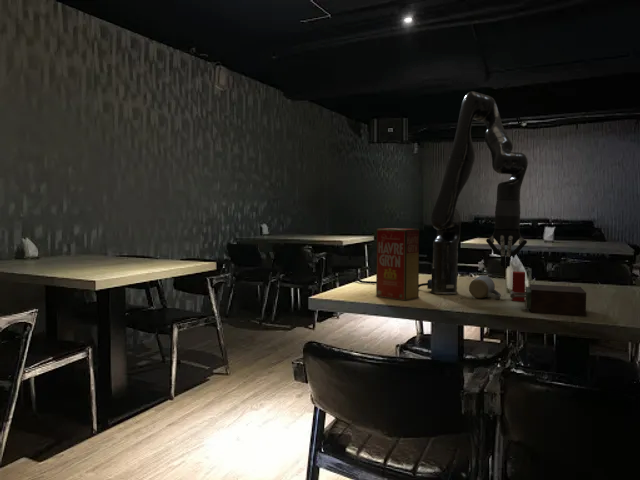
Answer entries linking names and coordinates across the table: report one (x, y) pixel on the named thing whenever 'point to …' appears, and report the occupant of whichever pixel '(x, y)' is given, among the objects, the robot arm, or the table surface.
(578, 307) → the cabinet
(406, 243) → the food packaging
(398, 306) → the table surface
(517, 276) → the block
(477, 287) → the ceramic mug
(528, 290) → the drawer
